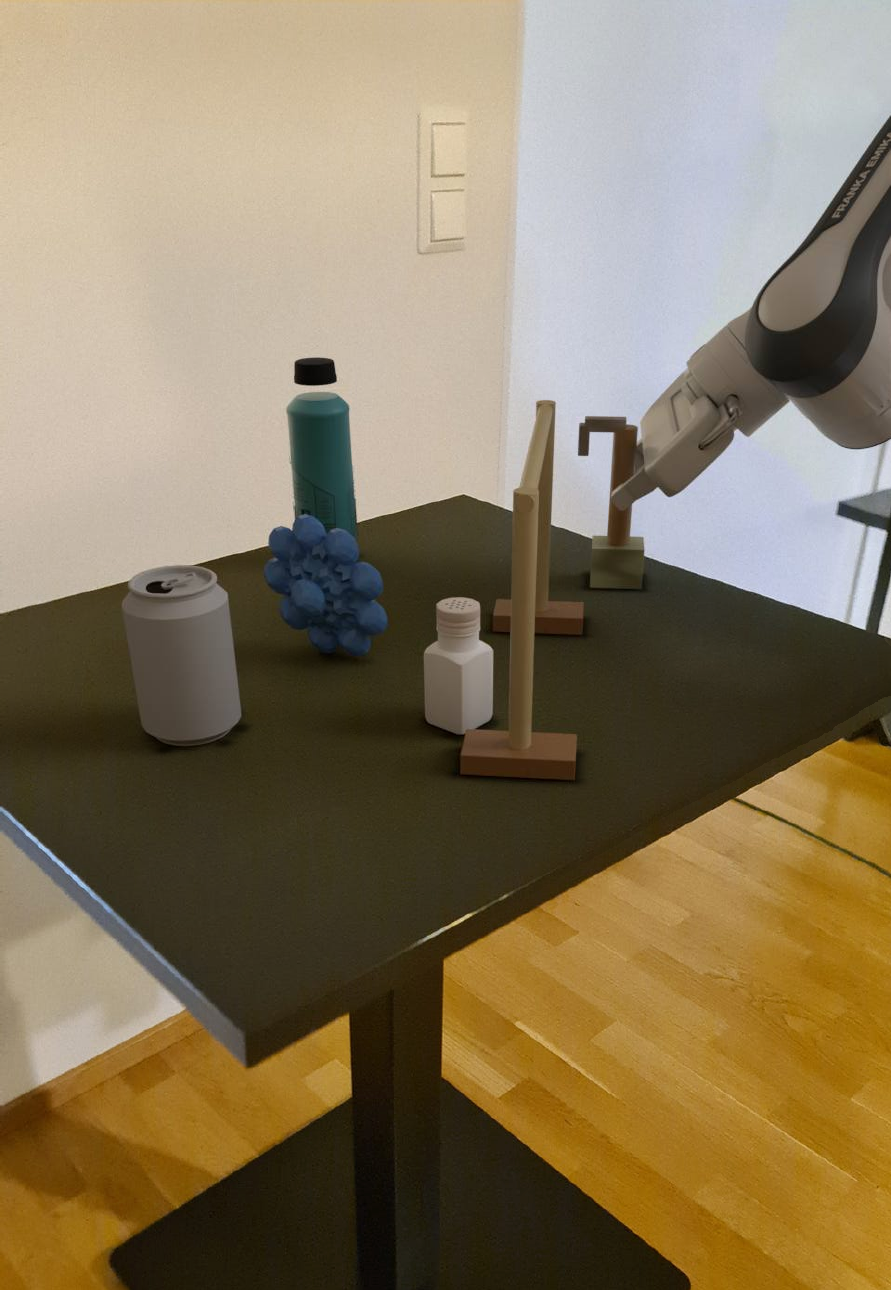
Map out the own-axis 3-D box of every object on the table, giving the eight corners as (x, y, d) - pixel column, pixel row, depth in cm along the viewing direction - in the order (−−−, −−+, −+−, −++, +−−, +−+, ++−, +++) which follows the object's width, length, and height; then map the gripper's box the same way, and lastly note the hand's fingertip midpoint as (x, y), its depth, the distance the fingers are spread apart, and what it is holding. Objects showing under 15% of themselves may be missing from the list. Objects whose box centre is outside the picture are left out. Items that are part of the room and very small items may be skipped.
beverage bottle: (371, 555, 120) (362, 356, 110) (333, 573, 115) (320, 367, 105) (322, 545, 123) (309, 350, 113) (283, 562, 118) (266, 361, 108)
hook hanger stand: (640, 575, 114) (653, 413, 106) (641, 589, 110) (654, 423, 102) (572, 573, 115) (580, 412, 106) (571, 587, 111) (579, 422, 103)
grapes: (244, 660, 97) (228, 523, 91) (287, 632, 102) (275, 500, 96) (363, 684, 92) (355, 541, 86) (401, 653, 98) (396, 517, 91)
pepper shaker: (462, 739, 84) (461, 619, 79) (422, 724, 86) (419, 606, 81) (495, 720, 87) (497, 603, 82) (455, 705, 89) (455, 590, 84)
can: (136, 715, 88) (111, 567, 82) (232, 699, 90) (214, 554, 84) (150, 758, 82) (124, 602, 76) (252, 740, 84) (235, 587, 78)
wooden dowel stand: (583, 618, 104) (595, 397, 94) (574, 780, 79) (589, 501, 69) (496, 615, 105) (499, 396, 95) (460, 774, 79) (459, 498, 69)
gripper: (767, 440, 94) (639, 551, 100) (742, 390, 111) (635, 487, 117) (719, 383, 92) (591, 499, 98) (701, 341, 110) (594, 442, 116)
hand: (615, 492), depth 108 cm, fingers open, 6 cm apart
